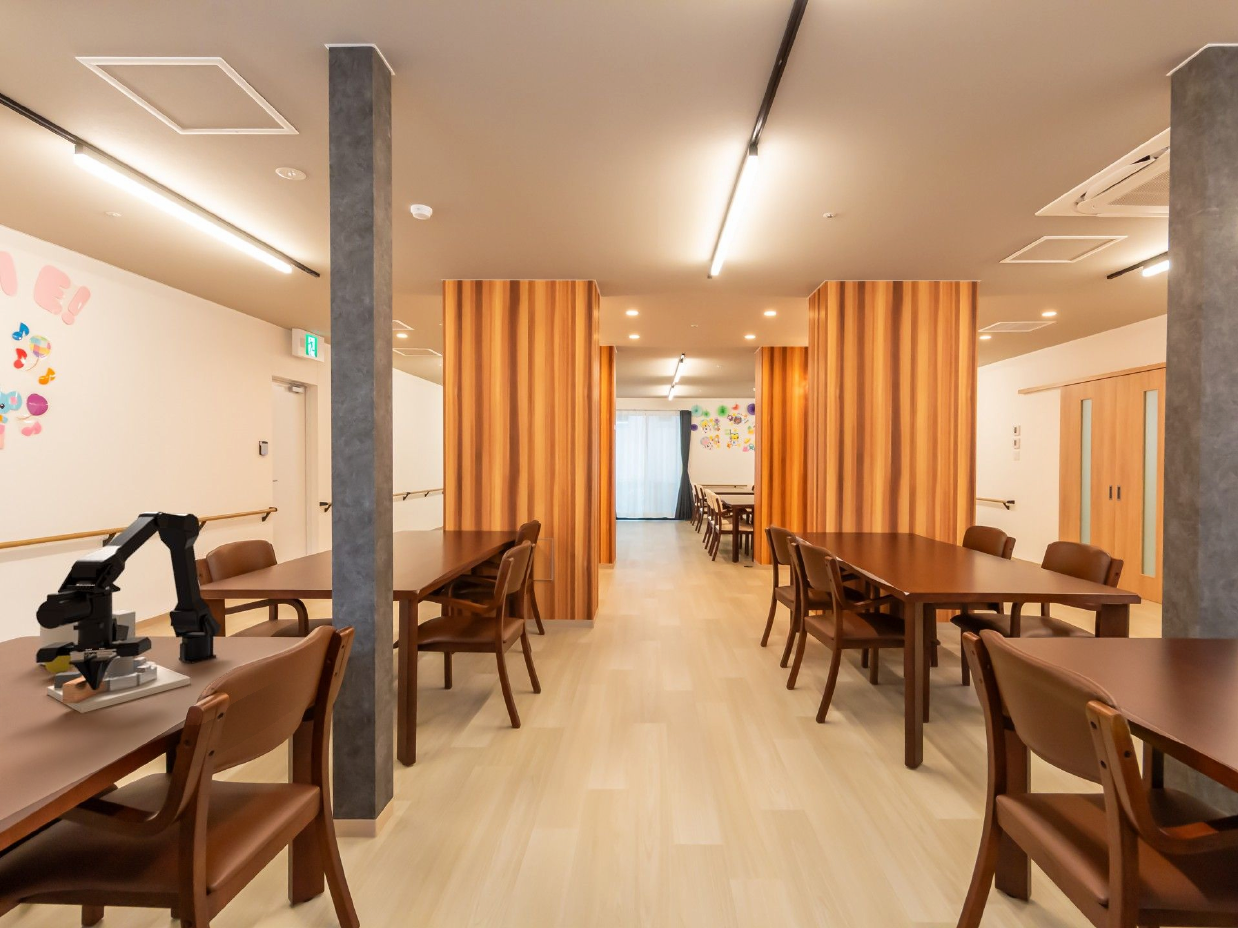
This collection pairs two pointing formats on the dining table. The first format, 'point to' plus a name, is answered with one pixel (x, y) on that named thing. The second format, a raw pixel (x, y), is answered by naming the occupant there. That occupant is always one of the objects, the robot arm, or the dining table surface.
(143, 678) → the toy block set
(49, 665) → the lemon
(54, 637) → the pill bottle
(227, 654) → the dining table surface
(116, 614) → the skincare box
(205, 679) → the dining table surface
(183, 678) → the base board
